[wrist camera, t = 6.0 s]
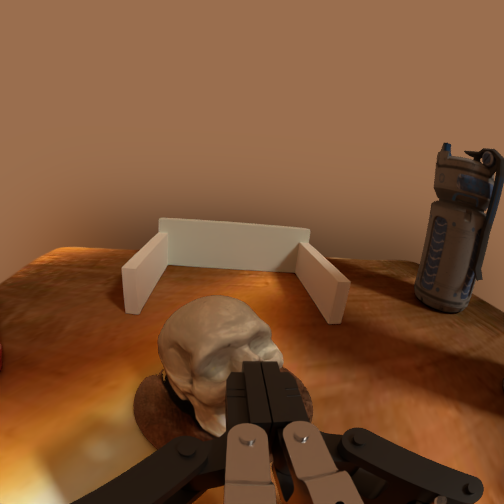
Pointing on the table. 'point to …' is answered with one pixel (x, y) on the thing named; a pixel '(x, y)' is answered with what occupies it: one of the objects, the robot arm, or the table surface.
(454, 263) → the beverage bottle
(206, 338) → the skull
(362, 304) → the table surface
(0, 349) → the smoothie
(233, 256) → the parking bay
